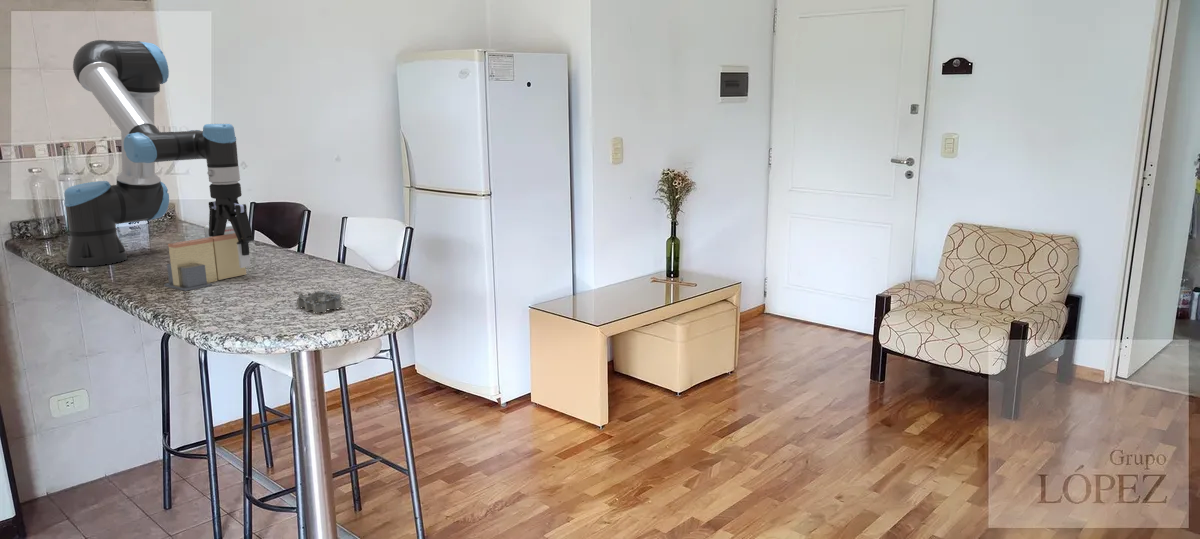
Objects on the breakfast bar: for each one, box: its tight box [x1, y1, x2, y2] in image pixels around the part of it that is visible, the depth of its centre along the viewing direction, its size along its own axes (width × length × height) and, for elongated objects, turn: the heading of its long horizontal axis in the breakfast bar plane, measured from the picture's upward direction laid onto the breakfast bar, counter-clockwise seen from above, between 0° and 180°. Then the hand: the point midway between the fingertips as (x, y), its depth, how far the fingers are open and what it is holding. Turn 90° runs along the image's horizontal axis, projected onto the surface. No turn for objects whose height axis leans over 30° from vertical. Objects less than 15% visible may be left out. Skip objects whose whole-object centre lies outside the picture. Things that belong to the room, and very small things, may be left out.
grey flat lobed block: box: [293, 289, 343, 313], centre depth 181 cm, size 11×8×4 cm
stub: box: [208, 233, 247, 281], centre depth 211 cm, size 3×8×11 cm, turn 146°
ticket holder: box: [163, 237, 218, 292], centre depth 203 cm, size 10×10×11 cm
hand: (233, 264), depth 213 cm, fingers open, 10 cm apart
